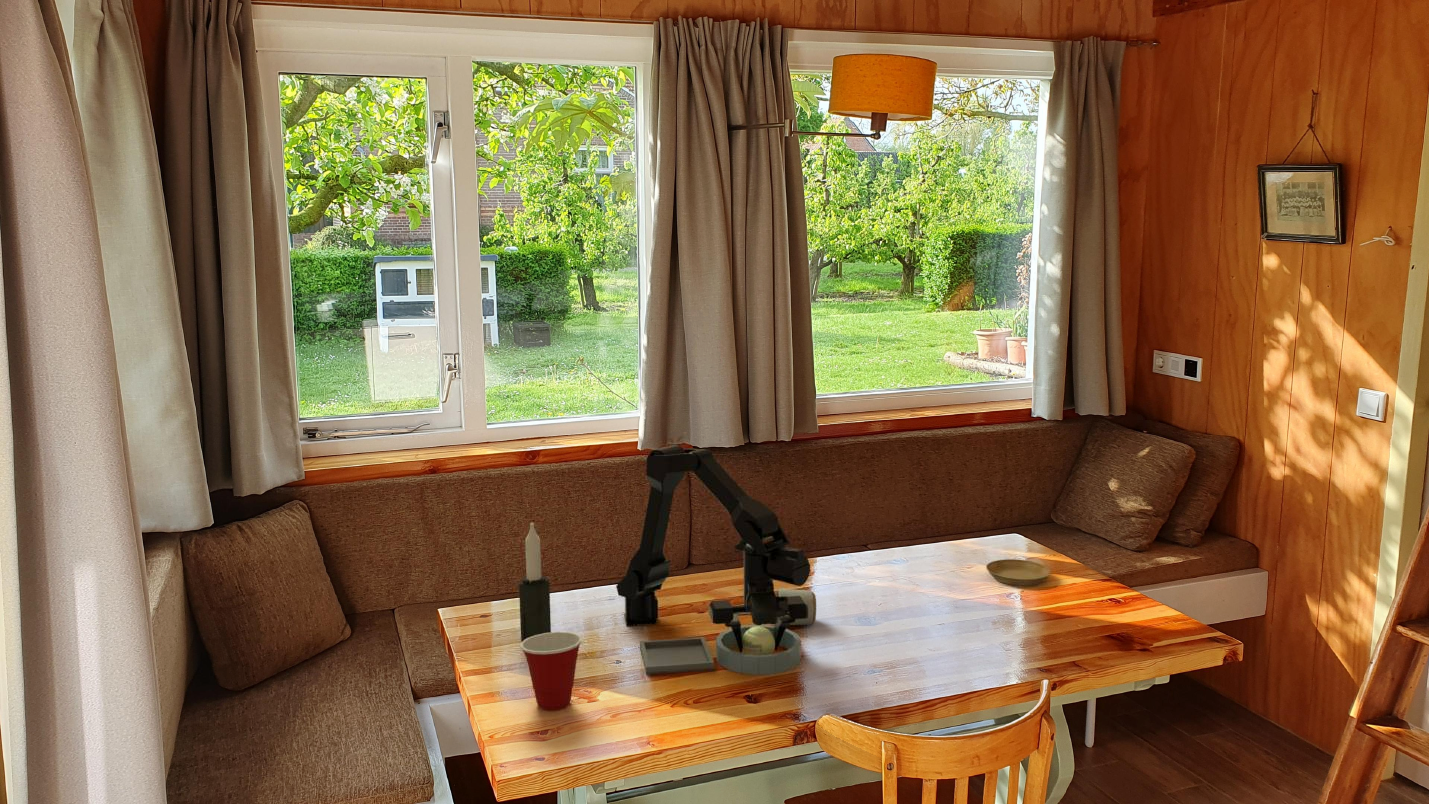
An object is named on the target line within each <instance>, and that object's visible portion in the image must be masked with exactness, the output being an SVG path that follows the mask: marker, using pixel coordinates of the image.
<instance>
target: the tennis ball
mask: <svg viewBox="0 0 1429 804" xmlns="http://www.w3.org/2000/svg"><path fill="white" fill-rule="evenodd" d="M742 645H743V651H742V652H743V654H752V655H767V654H774V652H775V650H774V649H775V640H774V636H773V634H772V633H771V632H770V631H769V630H768V629H766V628H764V627H761V626H756V627H752V628H750V629H749V630H747V631H746V632H745V634H744V635H743V638H742Z"/></svg>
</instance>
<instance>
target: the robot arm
mask: <svg viewBox="0 0 1429 804" xmlns="http://www.w3.org/2000/svg"><path fill="white" fill-rule="evenodd" d="M645 466H646V467H645V476H646V478H647V480H648V483H649V485H650V486H649V487H650V489H649V492H648V493H649V495H648V500H647V505H646V511H645V517H644V522H643V527H642V532H641V538H640V544H639V547H638V549H637V551H635V553H634V555H633V556H632V557H631V559H630V561H629V563H628V566H627V569H626V571H625V572H626V573H625V576H624V577H623V578H622V579H621V580H620V581H619V582H618V583H617V584H616V586H615V587H616V591H617V594H618V596H619V597H622V598H624V613H623V617H624V622H625V625H626V626H628V627H629V626H645V625H656V624H658V622H657V619H658V618H659V601H658V597H657V596H656V591H660V590H662V587H663V583H665V581H666V579H668V578H669V577H670V574H669V571H670V567H671V565H672V562H671V560H670V559H667V557H666V554H665V553H664V547H665V542H666V541H665V540H666V536H667V529H668V525H669V520H670V515H671V509H672V505H673V499H674V493H675V490H676V488H677V487H678V485H679V484H680V483H681V481H682V480H683V479H684V477H685V474H686V472H692V473H693V474H694V475H695V476H696V477H697V478H698V480H700V482H701V483H702V484H703V485H704V487H705V488H706V489H708V490H709V491H708V492H710V493H711V494H712V495H713V496H714V497H715V499H716V500H717V501H718V502H719V503H720V504H721V506H723V508H724V509H725V510H726V511H727V512H728V514H729V515H730V520H731V524H732V526H733V528H734V530H735V531H736V533H737V534H738V535H739V538H740V539H741V540H740V541H739V542H738V543H737V544H736V545H734V547H733V548H734V549H735V550H737V551H740V552H743V604H739V605H738V604H735V605H732V604H731V601H730V600H729V599H726V600H725V599H723V600H711V602H710V603H709V604H708V615H709V617H710V620H711V622H712V624H715V625H721V624H723V625H724V626H725V627H727V628H730V629H731V628H732V631H733V633H734V636H735V639H736V642H737V645H738V646H737V648H738V650H739V653H743V652H744V651H743V645H742V637H741V626H742V624H741V622H740V620H739V618H740V617H739V616H747V615H748V616H749V615H750V616H751V620H752V623H753V625H773V626H774V640H775V649H774V652H777V651H778V649H779V647H780V646H779V644H780V641H781V639H782V636H783V633H784V631H785V629H788V626H790V625H789V624H790V623H794V622H795V621H796V620H795V619H806V618H808V605H807V604H806V603H805V601H804V600H803V598H802V597H800V596H789V597H787V596H783V597H779V596H776V593H775V586H774V581H777V582H781V583H785V584H788V585H793V586H797V587H801V586H803V585H804V584H805V583H806V582H807V580H808V579H809V577H810V573H811V563H810V561H809V559H808V557H806V556H805V551H804V549H803V548H794V547H789V545H790V544H791V543H790V541H789V539H788V538H787V535H786V533H785V532H784V530H783V528H782V526H781V524H780V521H779V518H778V515H777V514H776V513H775V512H774V511H773V510H772V509H770V507H768V506H766V505H765V503H762V502H761V501H760V500H759V501H758V500H756V499H753V498H752V497H751V496H749V495H748V494H747V493H746V492H745V491H744V490H743V489H742V488H741V486H739V484H738V483H737V482H736V481H735V480H734V479H733V478H732V476H731V475H730V474H729V473H728V472H727V471H726V470H725V469H724V468H723V466H722V465H720V463H719V462H718V461H717V460H716V459H715V458H714V455H713V454H712V452H711V451H710V450H709V449H705V448H700V449H697V448H684V447H682V446H681V445H677V444H674V445H673V444H672V445H668V446H664V447H661V448H656V449H653V450H652V451H650V452H648V454H647V457H646V465H645ZM771 538H772V540H770V541H769V539H771ZM766 540H768V541H767V542H763V541H766Z"/></svg>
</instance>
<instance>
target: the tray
mask: <svg viewBox="0 0 1429 804" xmlns="http://www.w3.org/2000/svg"><path fill="white" fill-rule="evenodd" d="M707 643H708V642H707V640H706V639H705V636H702V637H701V636H700V637H685V638H669V639H656V640H652V639H651V640H639V650H640V654H641V659H642V664H643V667H645V668H644V671H645V674H646V676H647V674H650V675H659V674H660V675H661V674H662V675H663V674H675V673H677V674H678V673H686V672H687V673H688V672H689V673H690V672H703V671H706V672H707V671H714V670H715V661H714V658H713V655H712V653H711V650H710V648H709V646H708V644H707Z"/></svg>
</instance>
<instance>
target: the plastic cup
mask: <svg viewBox="0 0 1429 804" xmlns="http://www.w3.org/2000/svg"><path fill="white" fill-rule="evenodd" d="M582 639H583V638H582V636H581V635H579V634H577V633H574V632H570V631H554V632H552V631H551V633H544V634H539V635H535V636H532V637H530V638H527V639H525V640H524V641H523V642H521V641H520V645H519V647H520V649H521V650H522V651H523V654H524V656H525V659H526V662H527V666H528V671H529V675H530V680H531V683H532V689H533V691H534V694H535V695H534V696H535V700H536V701H535V702H536V704H537V707H539V709H541V710H543V711H549V712H552V711H553V712H554V711H560V710H563V709H565V708H568V706H569V705H571V701H572V694H573V687H574V682H575V675H576V674H575V673H576V667H577V659H578V653H579V651H580V650H579V648H580V646H581V644H582Z"/></svg>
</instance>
